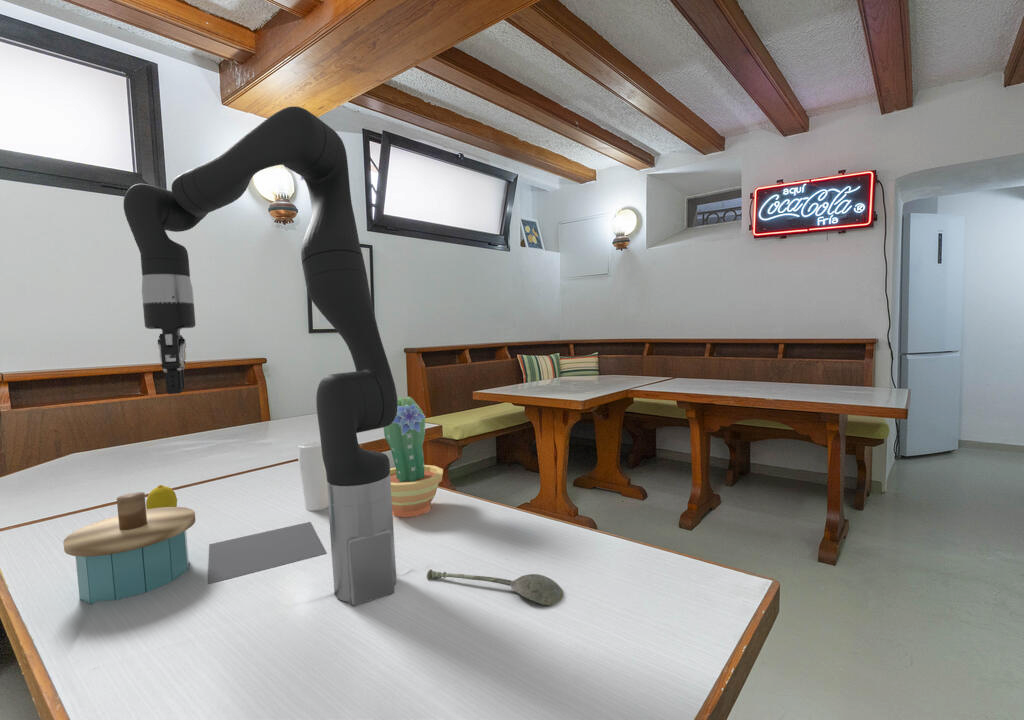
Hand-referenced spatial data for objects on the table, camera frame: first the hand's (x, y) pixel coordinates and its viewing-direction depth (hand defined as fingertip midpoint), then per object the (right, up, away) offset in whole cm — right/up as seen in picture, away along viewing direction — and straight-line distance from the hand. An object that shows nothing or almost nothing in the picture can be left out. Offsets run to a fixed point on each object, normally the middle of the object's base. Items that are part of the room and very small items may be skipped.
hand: (176, 391), depth 88 cm
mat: (+16, -29, +1) cm, 33 cm away
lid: (-1, -23, -8) cm, 24 cm away
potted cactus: (+39, -28, +19) cm, 51 cm away
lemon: (-16, -30, +19) cm, 39 cm away
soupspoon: (+58, -29, -15) cm, 67 cm away
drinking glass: (+17, -28, +23) cm, 40 cm away
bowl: (-1, -31, -8) cm, 32 cm away
